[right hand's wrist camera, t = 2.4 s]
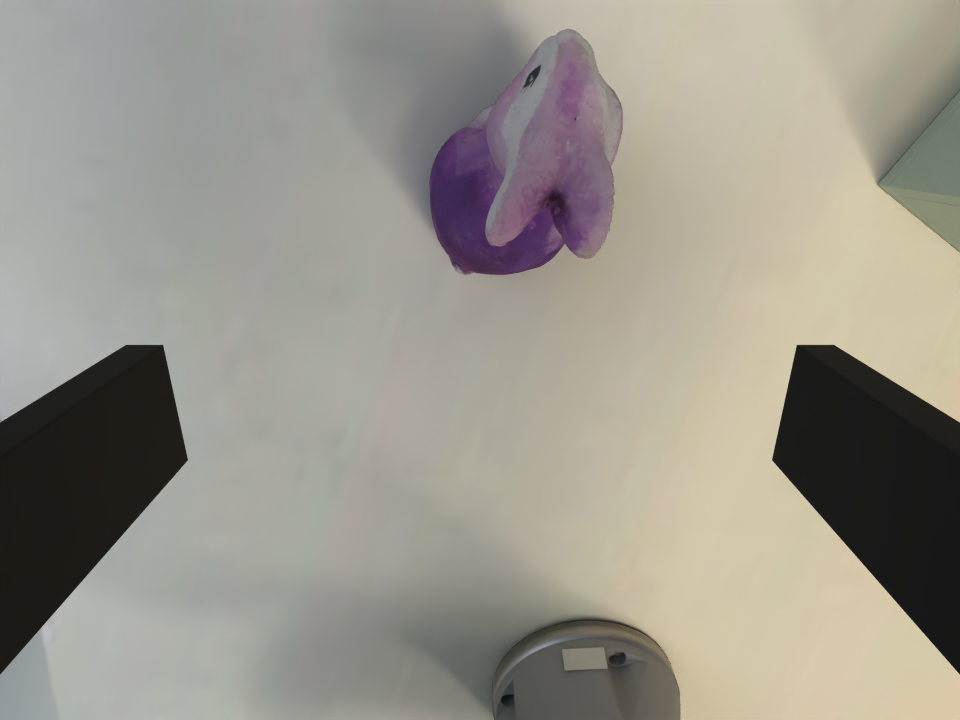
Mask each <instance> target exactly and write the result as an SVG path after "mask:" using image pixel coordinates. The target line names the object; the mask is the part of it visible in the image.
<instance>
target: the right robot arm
mask: <svg viewBox="0 0 960 720" xmlns="http://www.w3.org/2000/svg"><path fill="white" fill-rule="evenodd" d="M187 461H188V458H187V454H186V449H185V445H184V440H183V435H182V431H181V426H180V421H179V417H178V412H177V407H176V403H175V398H174V394H173V389H172V384H171V380H170V375H169V370H168V366H167V361H166V356H165V352H164V347H163V345H125V346H124V347H122V348H120V349H119V350H117V351H116V352H114V353H112V354H111V355H109V356H107V357H106V358H104V359H103V360H101V361H99V362H98V363H96V364H94V365H93V366H91V367H90V368H88V369H86V370H85V371H83V372H82V373H80V374H78V375H77V376H75V377H73V378H72V379H70V380H69V381H67V382H65V383H64V384H62V385H60V386H59V387H57V388H56V389H54V390H52V391H51V392H49V393H47V394H46V395H44V396H43V397H41V398H39V399H38V400H36V401H35V402H33V403H31V404H30V405H28V406H26V407H25V408H23V409H22V410H20V411H18V412H17V413H15V414H13V415H12V416H10V417H9V418H7V419H5V420H4V421H2V422H0V674H1V673H2V672H3V671H4V669H5V668H6V667H7V666H8V665H9V664H10V663H11V661H12V660H13V659H14V658H15V657H16V656H17V655H18V653H19V652H20V651H21V650H22V649H23V648H24V647H25V645H26V644H27V643H28V642H29V641H30V640H31V639H32V637H33V636H34V635H35V634H36V633H37V632H38V631H39V629H40V628H41V627H42V626H43V625H44V624H45V623H46V621H47V620H48V619H49V618H50V617H51V616H52V615H53V614H54V612H55V611H56V610H57V609H58V608H59V607H60V606H61V604H62V603H63V602H64V601H65V600H66V599H67V598H68V596H69V595H70V594H71V593H72V592H73V591H74V590H75V588H76V587H77V586H78V585H79V584H80V583H81V582H82V580H83V579H84V578H85V577H86V576H87V575H88V574H89V572H90V571H91V570H92V569H93V568H94V567H95V566H96V564H97V563H98V562H99V561H100V560H101V559H102V558H103V556H104V555H105V554H106V553H107V552H108V551H109V550H110V548H111V547H112V546H113V545H114V544H115V543H116V542H117V540H118V539H119V538H120V537H121V536H122V535H123V534H124V532H125V531H126V530H127V529H128V528H129V527H130V526H131V524H132V523H133V522H134V521H135V520H136V519H137V518H138V516H139V515H140V514H141V513H142V512H143V511H144V510H145V508H146V507H147V506H148V505H149V504H150V503H151V502H152V501H153V499H154V498H155V497H156V496H157V495H158V494H159V493H160V491H161V490H162V489H163V488H164V487H165V486H166V485H167V483H168V482H169V481H170V480H171V479H172V478H173V477H174V475H175V474H176V473H177V472H178V471H179V470H180V469H181V467H182V466H183V465H184V464H185V463H186V462H187ZM772 461H773V462H774V463H775V464H776V465H777V466H778V467H779V469H780V470H781V471H782V472H783V473H784V474H785V475H786V477H787V478H788V479H789V480H790V481H791V482H792V483H793V485H794V486H795V487H796V488H797V489H798V490H799V491H800V493H801V494H802V495H803V496H804V497H805V498H806V499H807V501H808V502H809V503H810V504H811V505H812V506H813V507H814V508H815V510H816V511H817V512H818V513H819V514H820V515H821V516H822V518H823V519H824V520H825V521H826V522H827V523H828V524H829V526H830V527H831V528H832V529H833V530H834V531H835V532H836V534H837V535H838V536H839V537H840V538H841V539H842V540H843V542H844V543H845V544H846V545H847V546H848V547H849V548H850V550H851V551H852V552H853V553H854V554H855V555H856V556H857V558H858V559H859V560H860V561H861V562H862V563H863V564H864V566H865V567H866V568H867V569H868V570H869V571H870V572H871V574H872V575H873V576H874V577H875V578H876V579H877V580H878V582H879V583H880V584H881V585H882V586H883V587H884V588H885V590H886V591H887V592H888V593H889V594H890V595H891V596H892V598H893V599H894V600H895V601H896V602H897V603H898V604H899V606H900V607H901V608H902V609H903V610H904V611H905V612H906V614H907V615H908V616H909V617H910V618H911V619H912V620H913V621H914V623H915V624H916V625H917V626H918V627H919V628H920V629H921V631H922V632H923V633H924V634H925V635H926V636H927V637H928V639H929V640H930V641H931V642H932V643H933V644H934V645H935V647H936V648H937V649H938V650H939V651H940V652H941V653H942V655H943V656H944V657H945V658H946V659H947V660H948V661H949V663H950V664H951V665H952V666H953V667H954V668H955V669H956V671H957V672H958V673H959V674H960V422H958V421H956V420H955V419H953V418H951V417H950V416H948V415H947V414H945V413H943V412H942V411H940V410H938V409H937V408H935V407H934V406H932V405H930V404H929V403H927V402H925V401H924V400H922V399H921V398H919V397H917V396H916V395H914V394H913V393H911V392H909V391H908V390H906V389H904V388H903V387H901V386H900V385H898V384H896V383H895V382H893V381H891V380H890V379H888V378H887V377H885V376H883V375H882V374H880V373H878V372H877V371H875V370H874V369H872V368H870V367H869V366H867V365H866V364H864V363H862V362H861V361H859V360H857V359H856V358H854V357H853V356H851V355H849V354H848V353H846V352H844V351H843V350H841V349H840V348H838V347H836V346H835V345H797V347H796V352H795V356H794V361H793V366H792V370H791V375H790V380H789V384H788V389H787V394H786V398H785V403H784V407H783V412H782V417H781V421H780V426H779V431H778V435H777V440H776V445H775V449H774V454H773V458H772ZM492 691H493V715H494V720H680V692H679V687H678V684H677V681H676V678H675V675H674V673H673V670H672V667H671V664H670V662H669V660H668V658H667V656H666V655H665V653H664V652H663V650H662V649H661V648H660V647H659V646H658V645H657V644H656V643H655V642H654V641H653V640H651V639H650V638H648V637H647V636H645V635H644V634H642V633H640V632H638V631H636V630H634V629H632V628H629V627H626V626H623V625H620V624H616V623H611V622H604V621H574V622H567V623H562V624H558V625H554V626H551V627H548V628H545V629H542V630H540V631H538V632H536V633H534V634H532V635H530V636H528V637H527V638H525V639H524V640H522V641H521V642H519V643H518V644H517V645H516V646H514V647H513V648H512V649H511V650H510V651H509V652H508V653H507V655H506V656H505V657H504V658H503V660H502V661H501V663H500V664H499V666H498V668H497V670H496V673H495V676H494V680H493V690H492Z"/></svg>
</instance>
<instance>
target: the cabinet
mask: <svg viewBox="0 0 960 720" xmlns="http://www.w3.org/2000/svg"><path fill="white" fill-rule="evenodd" d="M878 186H879V187H881V188H882V189H883V190H884V191H885V192H887V193H888V194H889V195H890V196H892V197H893V198H894V199H895V200H897V201H898V202H899V203H900V204H901V205H903V206H904V207H905V208H906V209H908V210H909V211H910V212H911V213H912V214H914V215H915V216H916V217H917V218H919V219H920V220H921V221H922V222H923V223H925V224H926V225H927V226H928V227H930V228H931V229H932V230H933V231H934V232H936V233H937V234H938V235H939V236H941V237H942V238H943V239H944V240H946V241H947V242H948V243H949V244H950V245H952V246H953V247H954V248H955V249H957V250H958V251H959V252H960V91H959V92H958V93H957V94H956V96H955V97H954V98H953V99H952V100H951V101H950V102H949V104H948V105H947V106H946V107H945V108H944V109H943V110H942V112H941V113H940V114H939V115H938V116H937V117H936V118H935V120H934V121H933V122H932V123H931V124H930V125H929V126H928V128H927V129H926V130H925V131H924V132H923V133H922V134H921V136H920V137H919V138H918V139H917V140H916V141H915V142H914V144H913V145H912V146H911V147H910V148H909V149H908V150H907V152H906V153H905V154H904V155H903V156H902V157H901V158H900V160H899V161H898V162H897V163H896V164H895V165H894V166H893V168H892V169H891V170H890V171H889V172H888V173H887V175H886V176H885V177H884V178H883V179H882V180H881V181H880V183H879V184H878Z"/></svg>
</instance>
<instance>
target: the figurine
mask: <svg viewBox="0 0 960 720" xmlns="http://www.w3.org/2000/svg"><path fill="white" fill-rule="evenodd" d="M622 125H623V114H622V106H621V103H620V101H619V99H618V97H617V95H616V93H615V92H614V90H613V89H612V88H611V87H610V86H609V85H608V84H607V83H606V82H605V81H604V79H603V78H602V77H601V75H600V73H599V71H598V68H597V65H596V60H595V56H594V52H593V50H592V47H591V46H590V44H589V43H588V42H587V41H586V40H585V39H584V38H583V37H582V36H581V35H580V34H579V33H578V32H576V31H575V30H571V29H565V30H562V31H560V32H559V33H557V34H556V35H555V36H551V37H549V38H547V39H546V40H544V41H543V42H542V43H541V44H540V46H539V47H538V48H537V49H536V51H535V52H534V54H533V55H532V57H531V58H530V60H529V61H528V63H527V64H526V66H525V67H524V68H523V70H522V71H521V72H520V73H519V75H518V76H517V77H516V78H515V79H514V80H513V81H512V83H511V84H510V85H509V86H508V87H507V88H506V89H505V90H504V91H503V93H502V94H501V95H500V97H499V98H498V100H497V101H496V103H495V104H494V105H493V106H490V107H488V108H485V109H483V110H482V111H481V112H480V113H479V114H478V115H477V116H476V117H475V118H474V120H473V121H472V122H471V123H470V124H469V125H468V126H467V127H466V128H464V129H461V130H460V131H458V132H456V133H455V134H453V135H452V136H451V137H450V138H449V139H448V140H447V141H446V142H445V144H444V145H443V146H442V148H441V149H440V151H439V152H438V154H437V157H436V159H435V161H434V164H433V167H432V171H431V175H430V202H431V213H432V219H433V224H434V228H435V231H436V234H437V237H438V240H439V242H440V243H441V245H442V247H443V248H444V250H445V251H446V252H447V254H448V255H449V257H450V260H451V263H452V265H453V267H454V269H455V270H456V271H457V272H458V273H459V274H463V275H467V274H471V273H474V272H475V273H481V274H492V275H506V274H512V273H518V272H522V271H526V270H529V269H533V268H537V267H540V266H542V265H544V264H546V263H547V262H549V261H550V260H551V259H552V258H553V257H554V256H555V255H556V254H557V253H558V252H559V250H560V249H561V248H562V247H563V245H564V244H566V245H567V247H568V248H569V249H570V251H572V252H573V253H574V254H575V255H576V256H578V257H580V258H592V257H593V256H594V255H595V254H596V253H597V252H598V250H599V249H600V248H601V245H602V244H603V243H604V241H605V239H606V236H607V233H608V232H609V231H610V223H611V221H612V210H613V208H614V201H613V196H614V194H615V192H614V186H613V182H614V179H613V174H612V170H611V165H612V163H613V161H614V158H615V155H616V153H617V150H618V146H619V142H620V139H621V134H622Z"/></svg>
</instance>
